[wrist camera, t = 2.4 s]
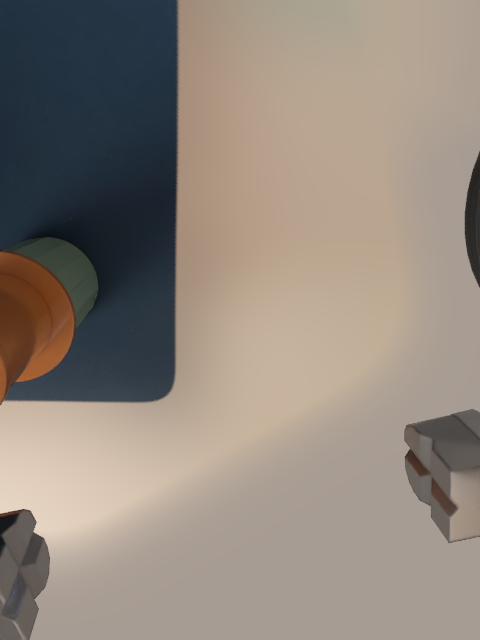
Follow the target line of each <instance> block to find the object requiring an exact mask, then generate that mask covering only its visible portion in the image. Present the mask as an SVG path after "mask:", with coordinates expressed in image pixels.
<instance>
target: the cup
mask: <svg viewBox="0 0 480 640" xmlns="http://www.w3.org/2000/svg"><path fill="white" fill-rule="evenodd" d="M2 250H7V251H12V252H16V253H20V254H23V255H26V256H28V257H30V258H32V259H34V260H36V261H38V262H39V263H41V264H43V265H44V266H45V267H47V268H48V269H49V270H50V271H51V272H52V273H54V274H55V275H56V276H57V277H58V279H59V280H60V281H61V282H62V284H63V285H64V286H65V288H66V290H67V291H68V293H69V295H70V297H71V300H72V302H73V306H74V309H75V315H76V329H77V327H78V326H79V325H80V323H81V322H82V321H83V320H84V318H85V317H86V316H87V314H88V313H89V312H90V310H91V309H92V307H93V306H94V303H95V301H96V298H97V294H98V280H97V275H96V272H95V270H94V267H93V265H92V264H91V262H90V260H89V259H88V258H87V256H86V255H85V254H84V253H83V252H82V251H81V250H79V249H78V248H77V247H75V246H74V245H72V244H70V243H68V242H66V241H64V240H61V239H57V238H52V237H38V238H33V239H27V240H25V241H22V242H20V243H17V244H15V245H12V246H9V247H7V248H4V249H2Z"/></svg>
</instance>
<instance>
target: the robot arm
mask: <svg viewBox="0 0 480 640" xmlns="http://www.w3.org/2000/svg"><path fill="white" fill-rule="evenodd" d="M404 433H405V434H404V436H405V437H404V438H405V442H406V443H407V444H408V446H409V447H410V450H409V451H408V453H407V454H406V456H405V467H406V472H407V475H408V480H409V483H410V485H411V487H412V489H413V491H414V493H415V494H416V495H417V497H418V499H419V500H420V501H422V502H424V503H426V504H428V505H430V506H431V518H432V519H433V521H434V522H435V523H436V525H437V526H438V528H439V529H440V530H441V532H442V533H443V535H444V536H445V538H446V539H447V541H448V542H449V543H452V542H456V541H461V540H466V539H471V538H476V537H480V412H478V411H476V410H473V409H471V410H467V411H463V412H458V413H454V414H451V415H449V416H444V417H440V418H435V419H431V420H426V421H422V422H418V423H413V424H409V425H406V428H405V432H404ZM35 525H36V520H35V518H34V516H33V515H32V513H31V511H30V510H26V509H22V510H17V511H12V512H8V513H2V514H0V640H29V639H30V636H31V632H32V629H33V626H34V622H35V619H36V616H37V613H38V606H37V604H36V602H35V600H34V599H35V598H36V597H37V596H38V595H39V594H40V593H41V591H42V590H43V589H44V588H45V586H46V583H47V579H48V576H49V564H50V557H49V552H48V547H47V545H46V542H45V540H44V538H43V537H41V536H39V535H37V534H35V533H34V532H33V530H34V528H35Z"/></svg>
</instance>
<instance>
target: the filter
mask: <svg viewBox="0 0 480 640" xmlns="http://www.w3.org/2000/svg"><path fill="white" fill-rule="evenodd" d="M75 331H76V315H75V309H74V306H73V302H72V300H71V297H70V295H69V293H68V291H67V290H66V288H65V286H64V285H63V284H62V282H61V281H60V280H59V279H58V277H57V276H56V275H55V274H54V273H52V272H51V271H50V270H49V269H48V268H47V267H45V266H44V265H43V264H41V263H39V262H38V261H36V260H34V259H32V258H30V257H28V256H26V255H23V254H20V253H16V252H12V251H7V250H0V405H1V404H2V402H3V401H4V399H5V398H6V395H7V393H8V390H9V388H10V387H11V386H12V385H13V384H14V383H15V382H21V381H26V380H31V379H34V378H37V377H39V376H42V375H44V374H46V373H47V372H49V371H50V370H52V369H53V368H54V367H55V366H57V365H58V364H59V363H60V361H61V360H62V359H63V358H64V357H65V355H66V354H67V352H68V351H69V349H70V347H71V345H72V343H73V340H74V336H75Z"/></svg>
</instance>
